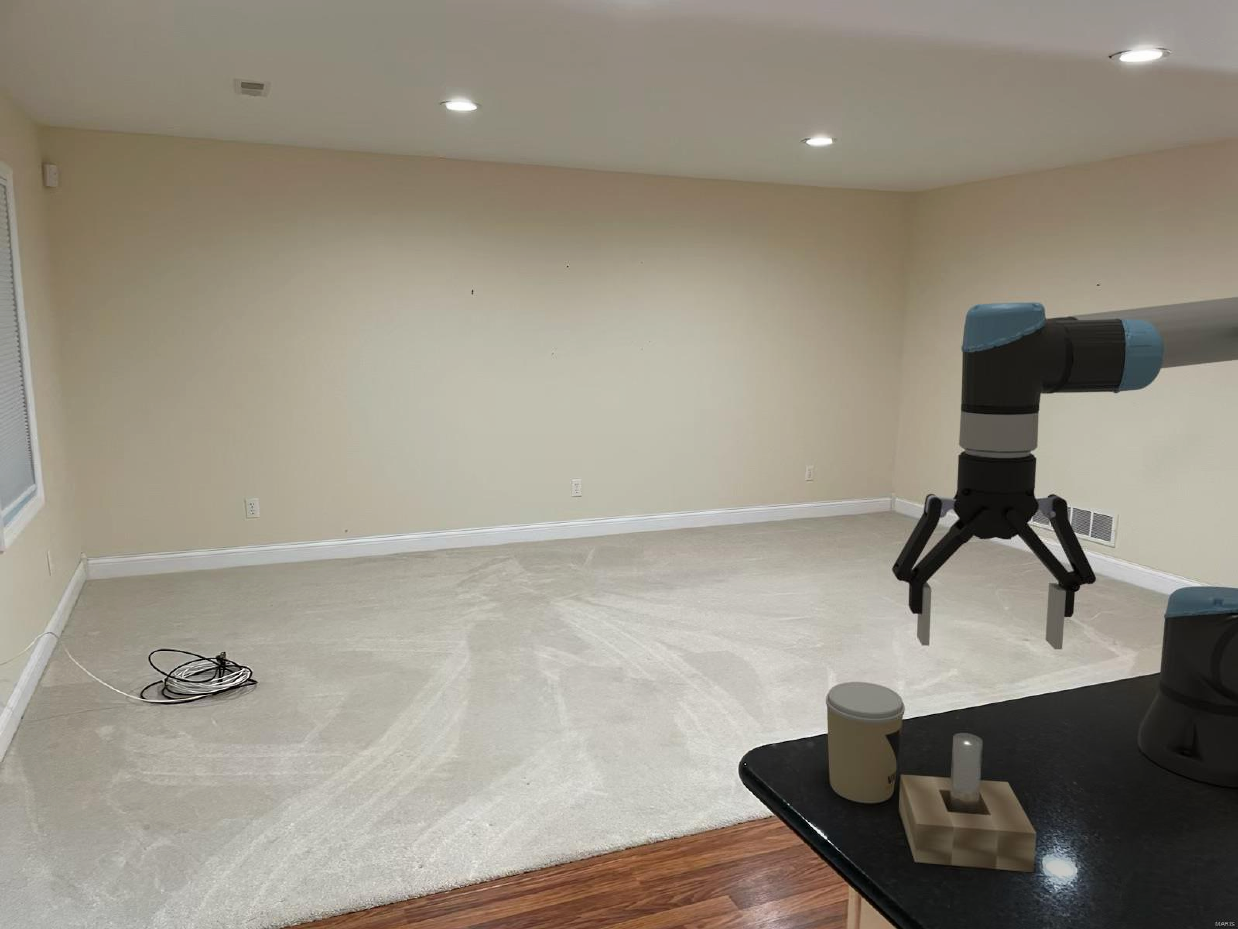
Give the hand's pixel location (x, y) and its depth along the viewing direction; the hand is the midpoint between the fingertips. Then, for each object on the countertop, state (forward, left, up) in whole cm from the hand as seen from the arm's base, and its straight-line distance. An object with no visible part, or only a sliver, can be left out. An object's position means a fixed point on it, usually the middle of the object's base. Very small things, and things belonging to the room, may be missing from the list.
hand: (987, 643), depth 91 cm
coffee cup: (+12, -8, -23) cm, 27 cm away
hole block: (+2, +2, -23) cm, 23 cm away
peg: (+2, +2, -23) cm, 23 cm away
